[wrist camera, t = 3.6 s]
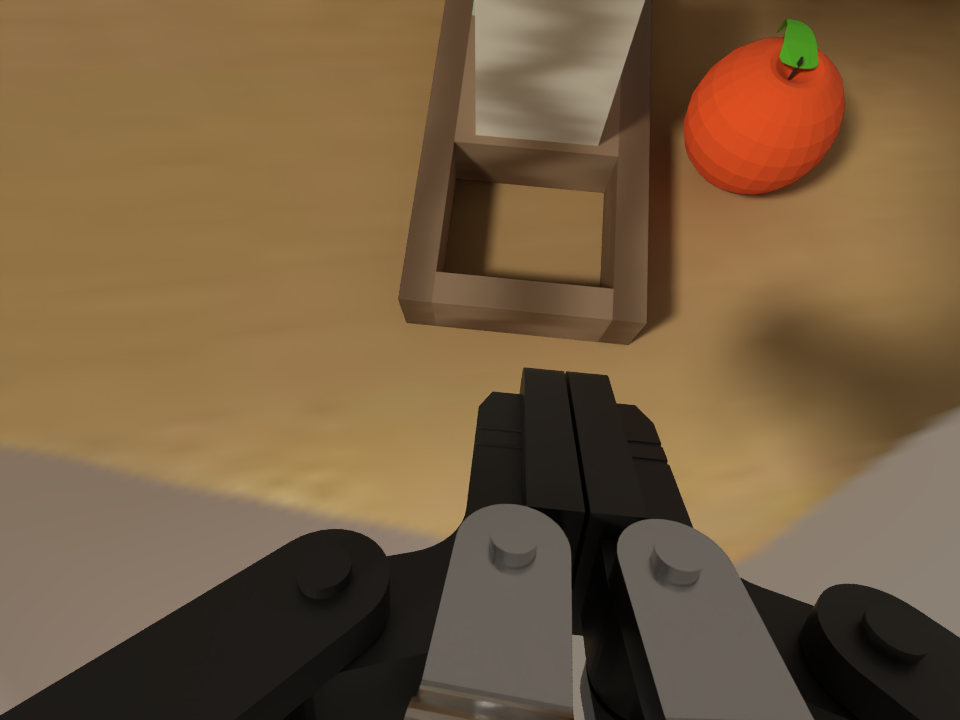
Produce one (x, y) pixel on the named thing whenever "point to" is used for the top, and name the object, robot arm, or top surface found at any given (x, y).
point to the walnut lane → (533, 163)
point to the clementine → (765, 113)
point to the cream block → (550, 66)
